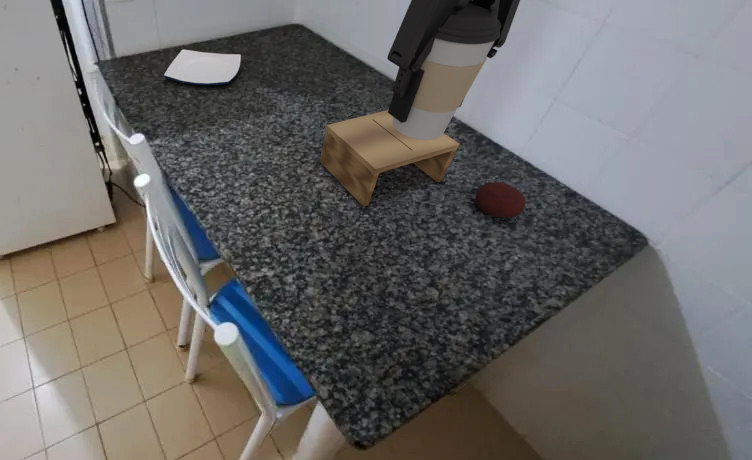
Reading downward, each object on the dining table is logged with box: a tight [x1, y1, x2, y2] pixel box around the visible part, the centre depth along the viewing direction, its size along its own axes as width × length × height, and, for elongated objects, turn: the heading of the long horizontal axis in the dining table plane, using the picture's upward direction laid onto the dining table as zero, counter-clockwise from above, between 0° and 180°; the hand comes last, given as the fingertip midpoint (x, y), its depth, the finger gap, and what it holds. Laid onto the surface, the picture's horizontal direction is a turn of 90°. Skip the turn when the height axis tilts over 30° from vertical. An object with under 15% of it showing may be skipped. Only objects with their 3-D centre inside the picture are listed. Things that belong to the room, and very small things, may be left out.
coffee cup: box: [392, 0, 501, 140], centre depth 47 cm, size 9×9×15 cm
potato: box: [474, 181, 527, 219], centre depth 73 cm, size 7×8×6 cm
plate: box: [163, 49, 242, 87], centre depth 115 cm, size 20×20×3 cm
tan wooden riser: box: [319, 109, 460, 208], centre depth 81 cm, size 16×20×9 cm
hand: (424, 109), depth 51 cm, fingers closed on coffee cup, 8 cm apart
